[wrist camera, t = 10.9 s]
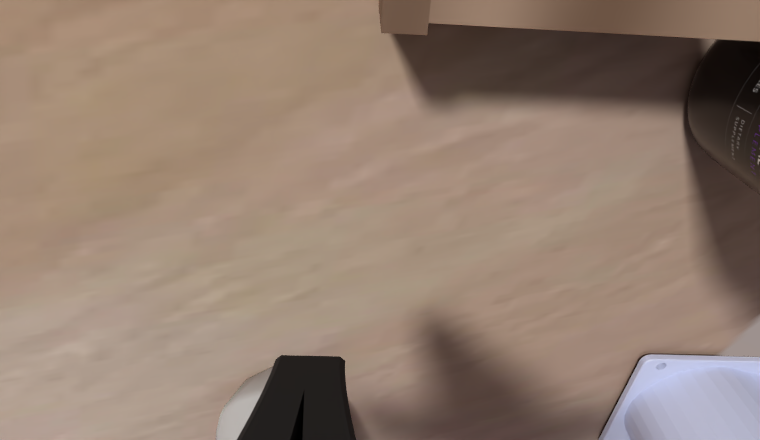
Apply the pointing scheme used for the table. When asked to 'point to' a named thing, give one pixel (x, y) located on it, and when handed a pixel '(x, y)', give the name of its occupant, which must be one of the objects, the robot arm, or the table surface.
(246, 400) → the salt shaker
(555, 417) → the table surface
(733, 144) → the supplement bottle
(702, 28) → the cradle
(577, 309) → the table surface
